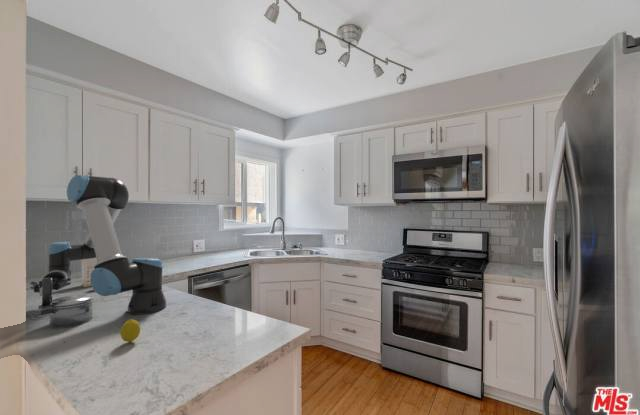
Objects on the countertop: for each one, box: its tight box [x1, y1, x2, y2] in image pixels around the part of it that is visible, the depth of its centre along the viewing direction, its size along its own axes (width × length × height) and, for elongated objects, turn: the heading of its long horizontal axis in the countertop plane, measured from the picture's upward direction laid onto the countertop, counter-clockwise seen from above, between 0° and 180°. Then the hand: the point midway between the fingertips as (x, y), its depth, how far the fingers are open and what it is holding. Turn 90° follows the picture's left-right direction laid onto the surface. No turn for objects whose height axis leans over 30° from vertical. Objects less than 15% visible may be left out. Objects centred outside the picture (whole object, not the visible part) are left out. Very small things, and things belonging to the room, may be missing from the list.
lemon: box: [120, 318, 141, 344], centre depth 97 cm, size 6×6×8 cm
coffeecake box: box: [81, 258, 98, 288], centre depth 176 cm, size 15×7×20 cm, turn 144°
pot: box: [37, 298, 94, 329], centre depth 114 cm, size 16×14×8 cm
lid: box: [38, 277, 94, 310], centre depth 114 cm, size 17×13×11 cm
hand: (42, 292), depth 108 cm, fingers closed
